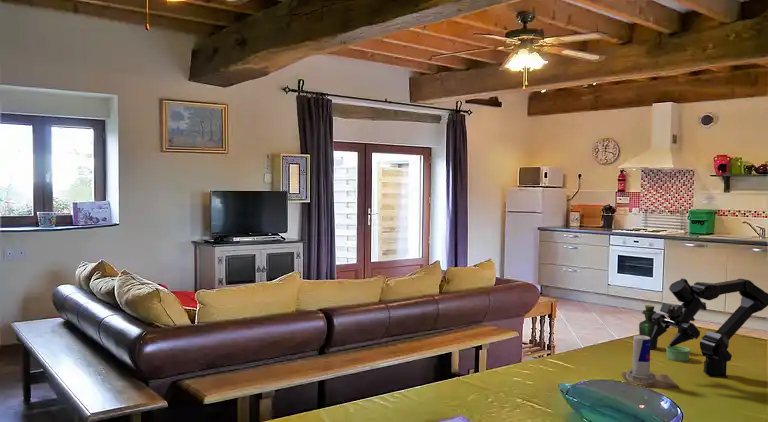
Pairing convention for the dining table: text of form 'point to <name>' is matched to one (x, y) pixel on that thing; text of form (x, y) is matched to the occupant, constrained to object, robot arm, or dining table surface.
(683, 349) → the ramekin
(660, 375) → the board
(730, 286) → the robot arm
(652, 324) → the potion bottle
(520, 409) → the dining table surface
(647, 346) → the beverage can
